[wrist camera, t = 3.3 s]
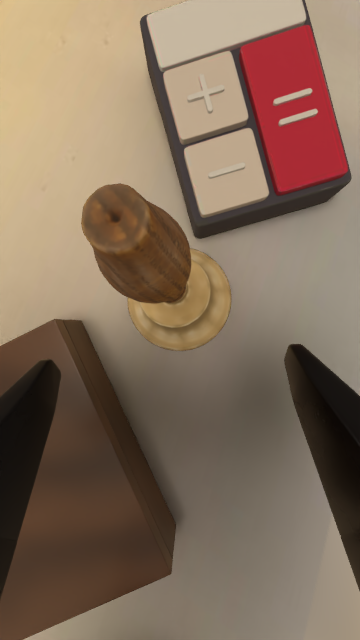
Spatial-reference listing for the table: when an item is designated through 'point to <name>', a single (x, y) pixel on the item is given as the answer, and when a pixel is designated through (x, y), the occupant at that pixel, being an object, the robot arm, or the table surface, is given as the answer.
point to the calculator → (244, 109)
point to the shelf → (81, 495)
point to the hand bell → (156, 269)
